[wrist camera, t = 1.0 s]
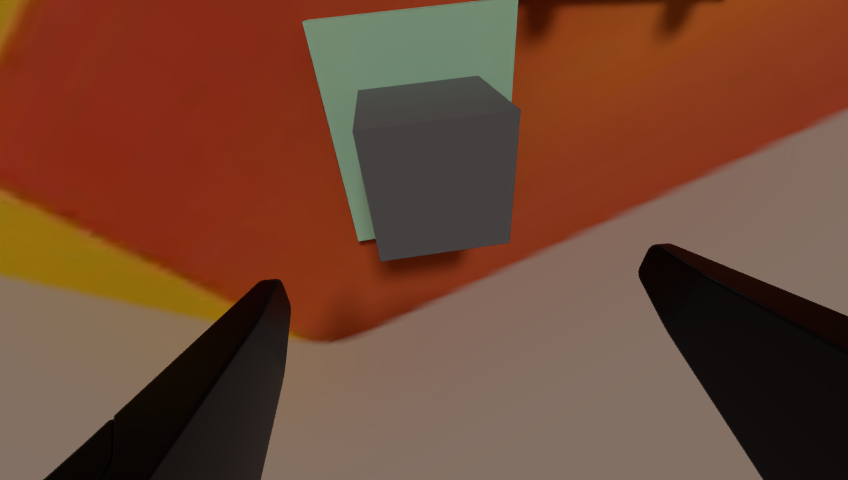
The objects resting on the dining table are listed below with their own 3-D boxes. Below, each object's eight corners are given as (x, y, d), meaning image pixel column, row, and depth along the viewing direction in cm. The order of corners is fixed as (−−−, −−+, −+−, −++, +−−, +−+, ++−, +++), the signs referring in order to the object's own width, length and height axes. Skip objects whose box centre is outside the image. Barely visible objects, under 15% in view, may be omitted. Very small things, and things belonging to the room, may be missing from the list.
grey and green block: (508, -3, 14) (586, 1, 9) (497, 209, 20) (539, 283, 15) (307, 19, 13) (268, 37, 8) (359, 228, 19) (354, 311, 14)
